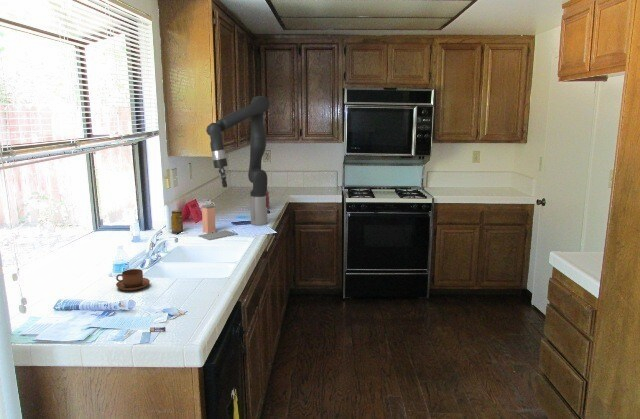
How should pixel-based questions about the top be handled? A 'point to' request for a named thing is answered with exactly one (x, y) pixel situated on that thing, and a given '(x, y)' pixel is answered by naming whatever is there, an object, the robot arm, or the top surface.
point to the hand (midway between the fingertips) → (225, 187)
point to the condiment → (177, 222)
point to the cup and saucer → (132, 280)
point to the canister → (267, 199)
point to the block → (208, 218)
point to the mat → (217, 235)
